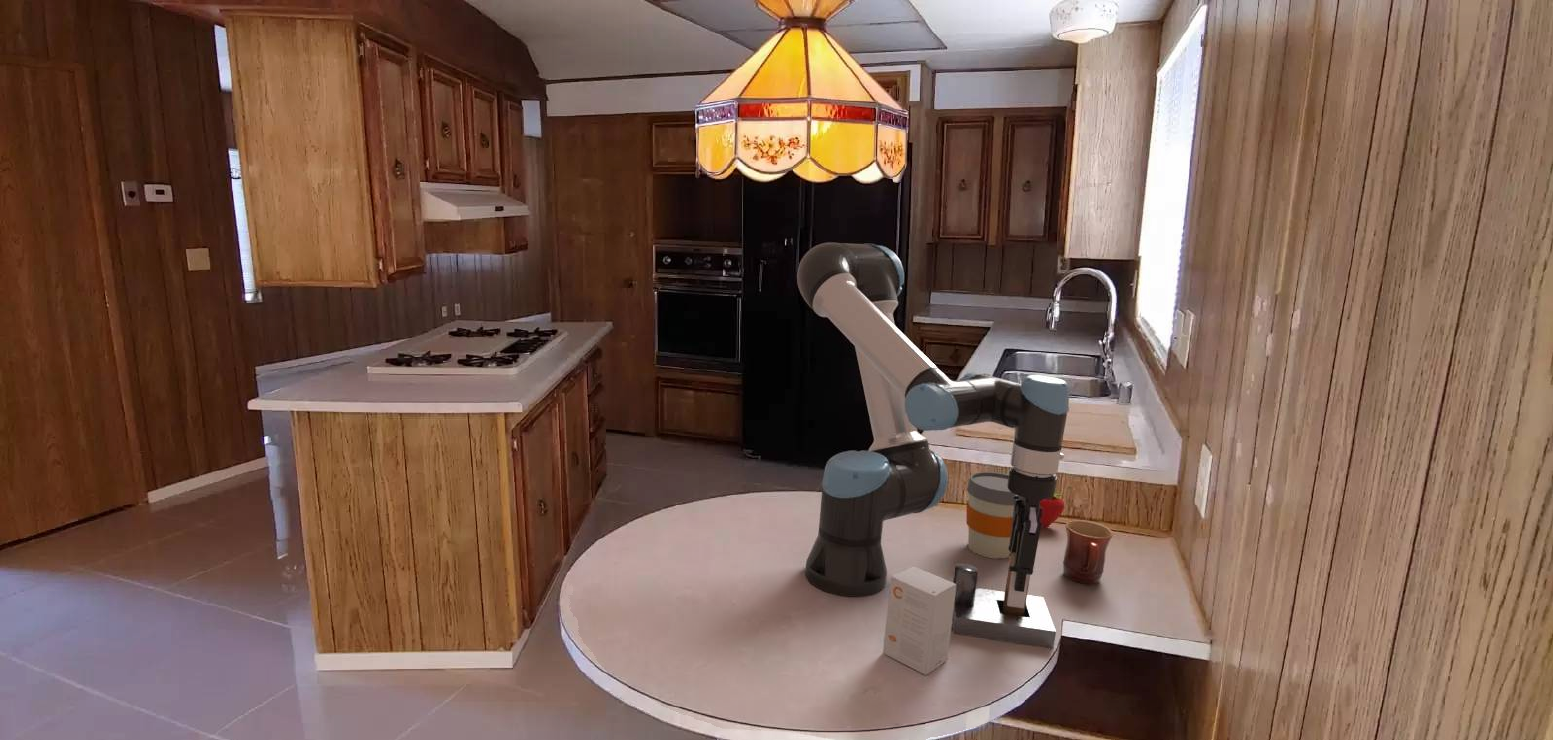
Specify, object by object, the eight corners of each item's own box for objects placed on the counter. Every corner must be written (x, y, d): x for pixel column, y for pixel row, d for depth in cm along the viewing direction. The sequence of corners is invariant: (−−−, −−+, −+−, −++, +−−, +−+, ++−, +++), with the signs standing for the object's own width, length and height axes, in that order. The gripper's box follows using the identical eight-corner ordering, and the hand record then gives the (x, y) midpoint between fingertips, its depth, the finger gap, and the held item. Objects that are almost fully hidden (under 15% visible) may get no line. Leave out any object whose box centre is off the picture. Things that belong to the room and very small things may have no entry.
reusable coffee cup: (1025, 566, 161) (1035, 495, 158) (961, 557, 162) (971, 487, 159) (1016, 541, 173) (1026, 475, 170) (957, 533, 174) (966, 468, 171)
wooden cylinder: (1001, 625, 135) (1011, 559, 133) (1000, 615, 138) (1009, 550, 136) (1023, 628, 134) (1034, 562, 132) (1021, 618, 138) (1031, 553, 135)
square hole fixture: (950, 633, 132) (957, 583, 130) (946, 599, 144) (952, 553, 142) (1053, 648, 130) (1061, 597, 128) (1040, 612, 142) (1048, 565, 140)
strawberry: (1023, 521, 185) (1029, 480, 183) (1053, 522, 186) (1059, 481, 184) (1035, 532, 179) (1042, 490, 177) (1066, 532, 180) (1073, 490, 178)
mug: (1055, 564, 162) (1062, 517, 160) (1100, 571, 161) (1108, 524, 159) (1063, 591, 151) (1072, 540, 149) (1112, 598, 149) (1121, 547, 147)
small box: (947, 661, 124) (958, 583, 121) (925, 676, 119) (935, 596, 116) (904, 639, 129) (913, 564, 126) (881, 653, 124) (890, 576, 122)
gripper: (1066, 488, 123) (1044, 627, 128) (1048, 459, 138) (1029, 584, 143) (1016, 482, 124) (996, 620, 129) (1004, 453, 139) (986, 578, 144)
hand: (1014, 601), depth 136 cm, fingers closed on wooden cylinder, 2 cm apart
